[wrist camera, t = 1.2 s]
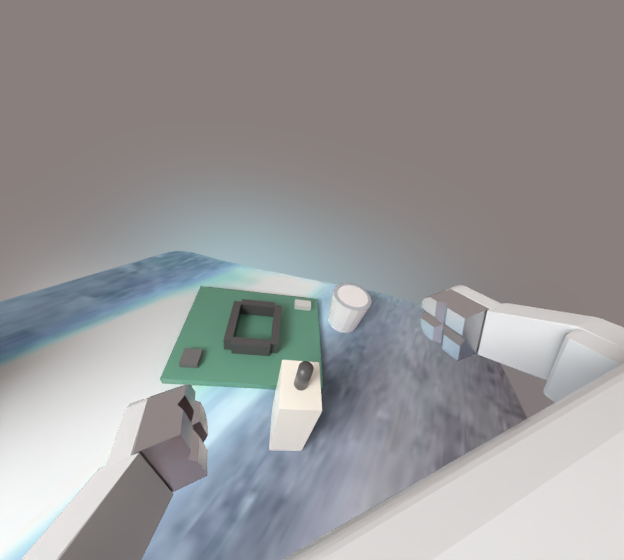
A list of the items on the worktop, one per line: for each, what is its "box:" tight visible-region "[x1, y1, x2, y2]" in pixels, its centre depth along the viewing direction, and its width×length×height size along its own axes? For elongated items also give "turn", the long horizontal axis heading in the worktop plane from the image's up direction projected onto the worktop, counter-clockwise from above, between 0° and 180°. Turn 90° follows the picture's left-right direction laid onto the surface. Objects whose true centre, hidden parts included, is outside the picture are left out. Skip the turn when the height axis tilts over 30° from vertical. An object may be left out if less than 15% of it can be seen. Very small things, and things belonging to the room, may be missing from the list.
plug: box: [269, 360, 322, 451], centre depth 28 cm, size 4×5×15 cm
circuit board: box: [160, 286, 323, 392], centre depth 41 cm, size 22×18×4 cm
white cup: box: [328, 283, 372, 333], centre depth 46 cm, size 7×7×7 cm
